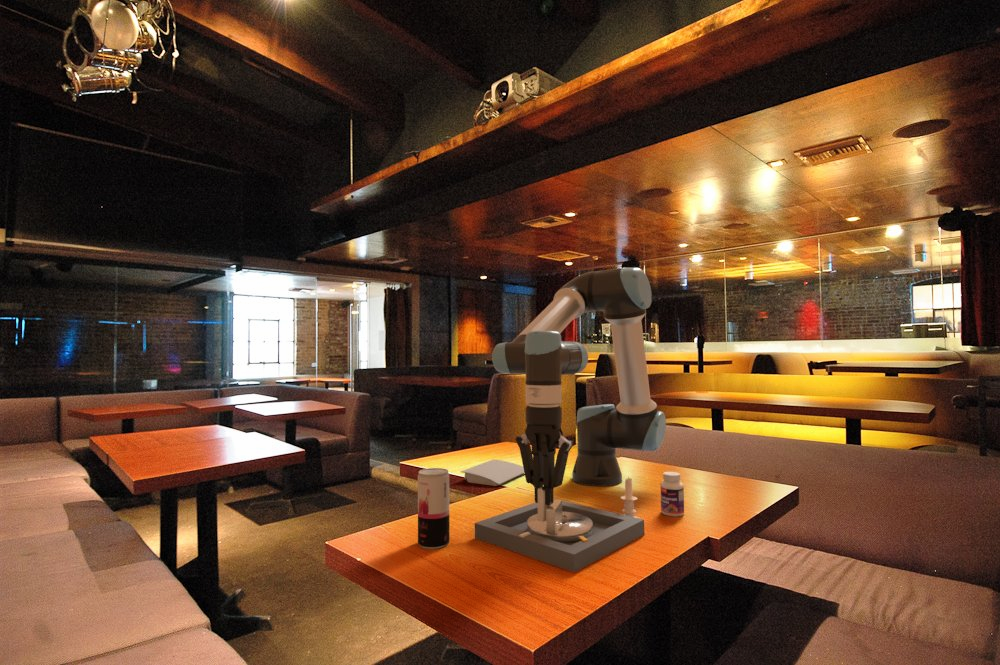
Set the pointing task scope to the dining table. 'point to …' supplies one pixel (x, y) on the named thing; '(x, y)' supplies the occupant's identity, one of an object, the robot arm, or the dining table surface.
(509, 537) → the panel
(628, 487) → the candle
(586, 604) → the dining table surface
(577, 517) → the dial
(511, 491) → the dining table surface
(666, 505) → the pill bottle
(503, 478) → the book
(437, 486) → the beverage can
